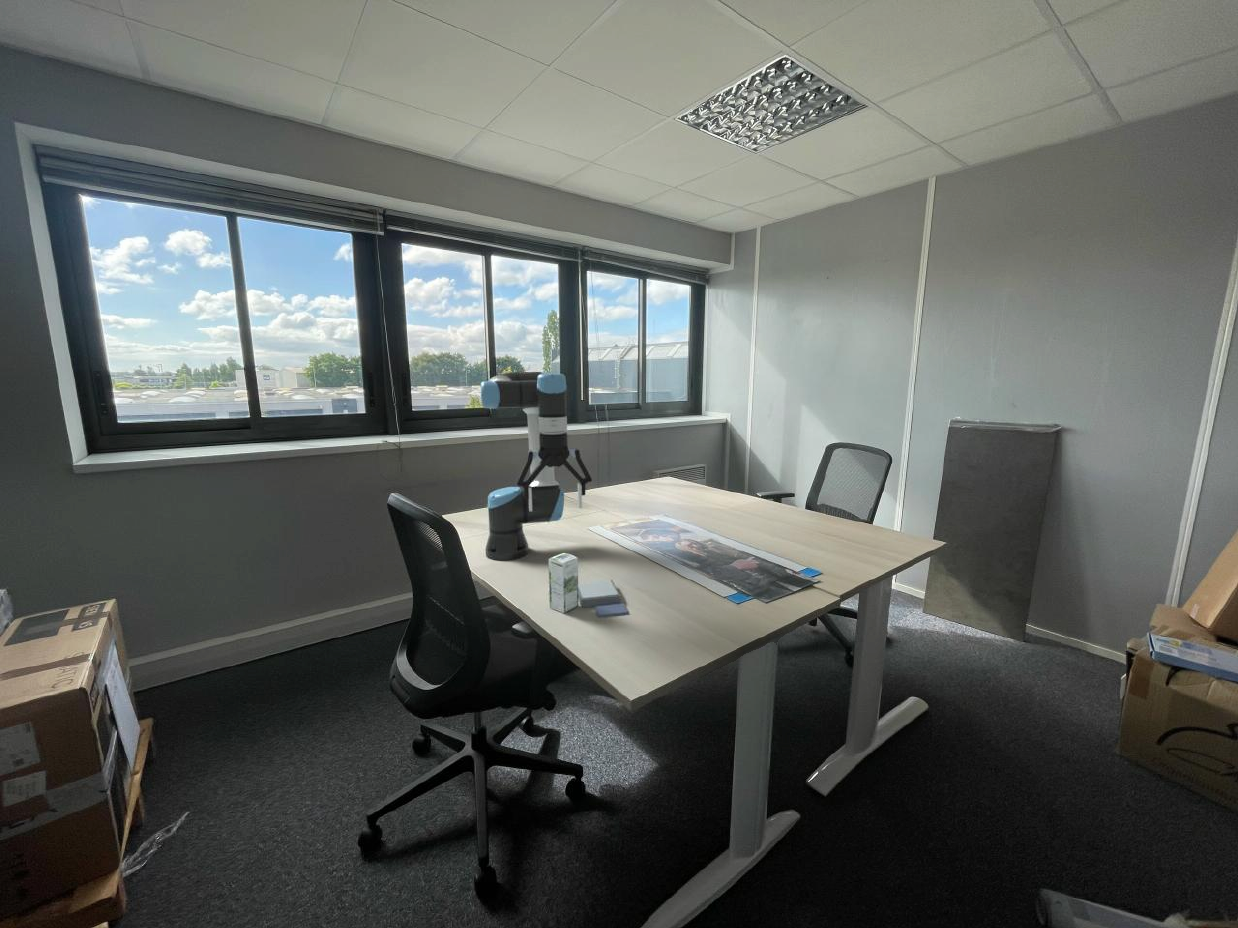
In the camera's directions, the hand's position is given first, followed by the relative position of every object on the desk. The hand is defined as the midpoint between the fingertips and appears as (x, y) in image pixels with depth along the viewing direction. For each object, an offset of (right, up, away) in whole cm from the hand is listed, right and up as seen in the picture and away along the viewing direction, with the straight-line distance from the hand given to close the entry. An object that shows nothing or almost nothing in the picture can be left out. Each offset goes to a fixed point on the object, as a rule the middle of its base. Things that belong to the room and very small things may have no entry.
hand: (555, 508), depth 134 cm
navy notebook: (+15, -28, -4) cm, 32 cm away
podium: (+11, -26, +5) cm, 29 cm away
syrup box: (+3, -27, -1) cm, 27 cm away
